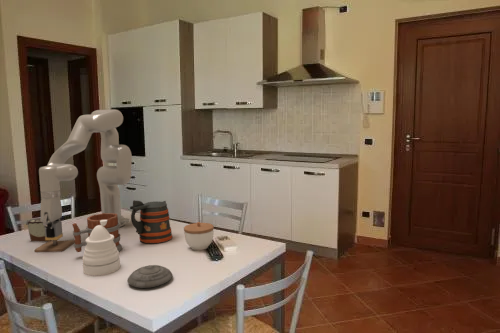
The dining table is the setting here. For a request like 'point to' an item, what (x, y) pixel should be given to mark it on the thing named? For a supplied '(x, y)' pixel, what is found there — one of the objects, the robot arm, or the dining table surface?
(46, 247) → the pin board
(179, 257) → the dining table surface
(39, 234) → the food container
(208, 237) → the lidded bowl
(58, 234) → the sleeve
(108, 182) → the robot arm
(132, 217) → the beer stein
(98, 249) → the honey pot
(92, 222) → the mug
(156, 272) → the flying saucer
